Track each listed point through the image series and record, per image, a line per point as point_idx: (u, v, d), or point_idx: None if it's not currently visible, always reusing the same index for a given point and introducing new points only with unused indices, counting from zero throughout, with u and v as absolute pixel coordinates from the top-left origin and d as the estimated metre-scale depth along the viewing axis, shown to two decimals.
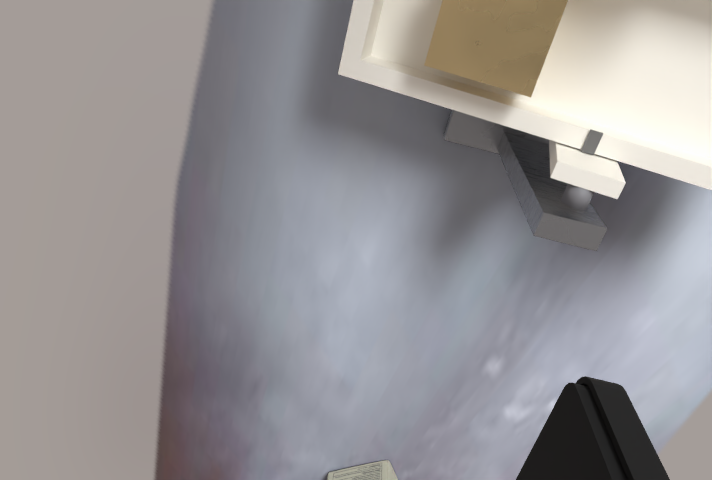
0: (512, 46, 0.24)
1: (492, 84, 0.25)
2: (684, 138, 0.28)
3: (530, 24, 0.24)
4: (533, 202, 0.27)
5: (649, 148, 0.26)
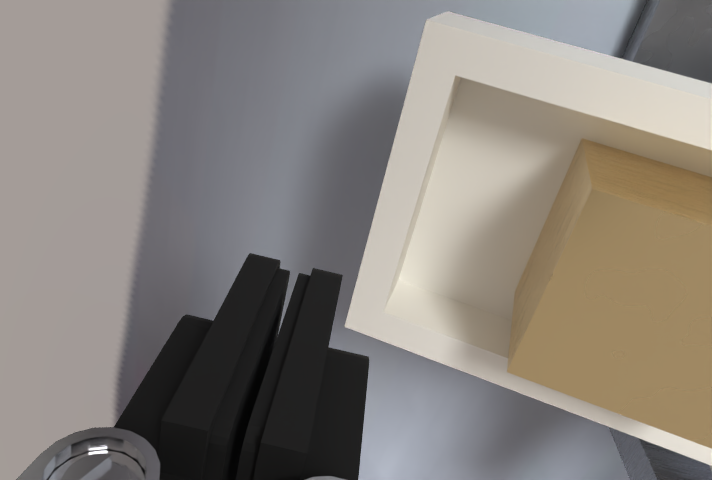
0: (691, 369, 0.12)
1: (641, 420, 0.13)
2: None
3: None
4: None
5: None
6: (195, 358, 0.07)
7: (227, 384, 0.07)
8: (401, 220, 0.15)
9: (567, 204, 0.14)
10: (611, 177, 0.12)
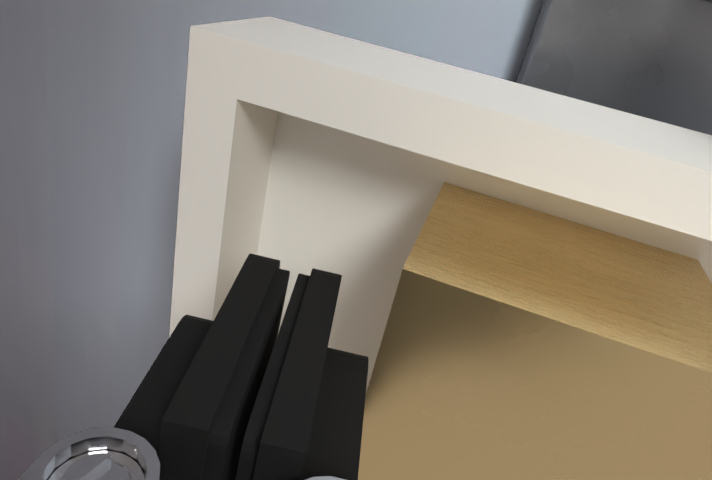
0: None
1: None
2: None
3: (616, 475, 0.08)
4: None
5: None
6: (195, 358, 0.07)
7: (227, 384, 0.07)
8: (205, 283, 0.12)
9: None
10: (449, 243, 0.09)
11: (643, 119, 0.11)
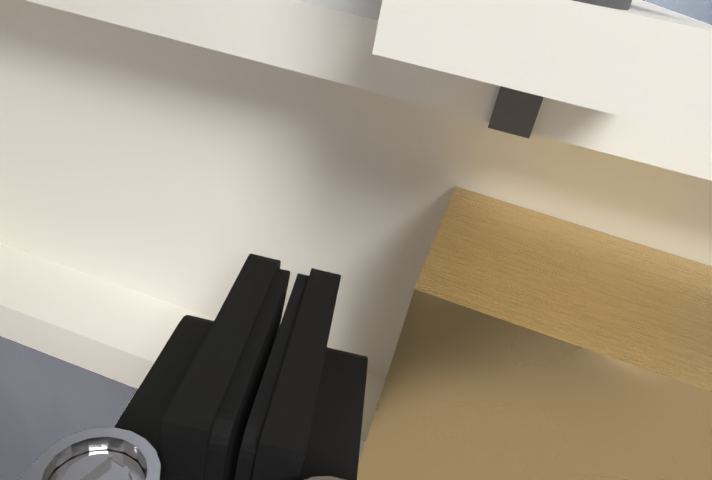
0: None
1: None
2: None
3: None
4: None
5: None
6: (195, 359, 0.07)
7: (227, 385, 0.07)
8: None
9: None
10: (463, 258, 0.08)
11: None
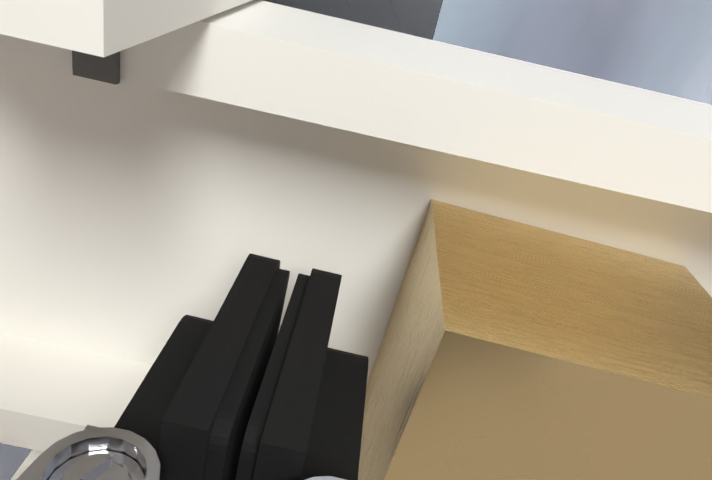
0: None
1: None
2: None
3: None
4: None
5: None
6: (195, 358, 0.07)
7: (228, 385, 0.07)
8: None
9: (415, 314, 0.09)
10: (473, 284, 0.08)
11: None
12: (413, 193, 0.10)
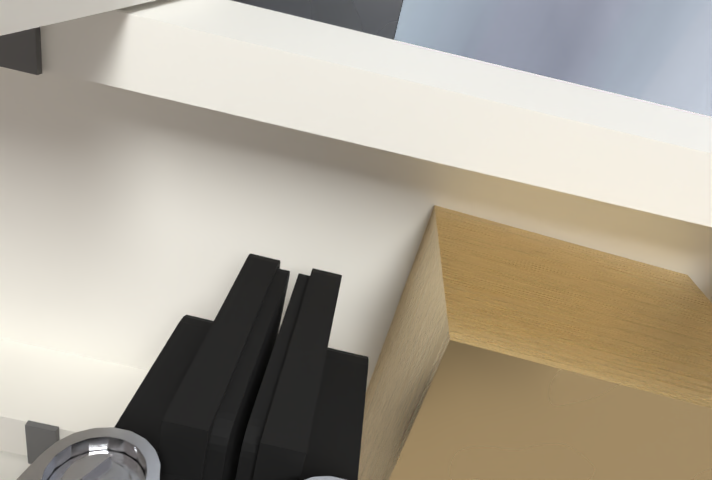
0: None
1: None
2: None
3: None
4: None
5: None
6: (195, 358, 0.07)
7: (227, 385, 0.07)
8: None
9: (418, 321, 0.09)
10: (477, 293, 0.08)
11: None
12: (356, 189, 0.10)
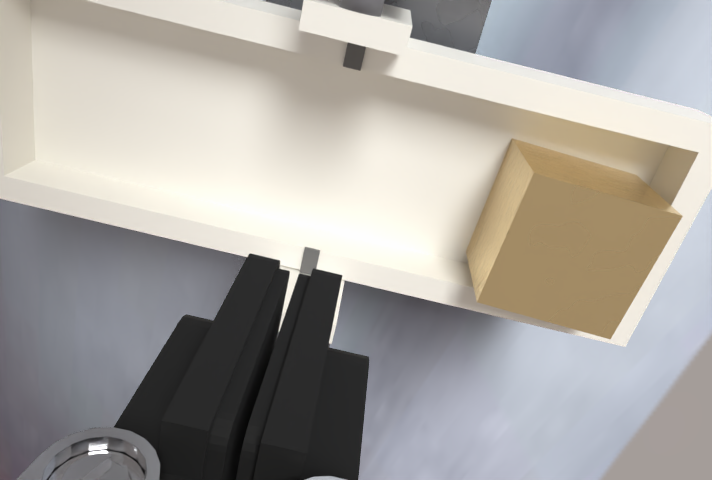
0: (593, 286, 0.19)
1: (564, 325, 0.20)
2: (421, 240, 0.23)
3: (618, 264, 0.19)
4: None
5: (375, 264, 0.22)
6: (195, 358, 0.07)
7: (228, 385, 0.07)
8: None
9: (510, 184, 0.20)
10: (540, 164, 0.19)
11: None
12: (473, 130, 0.21)
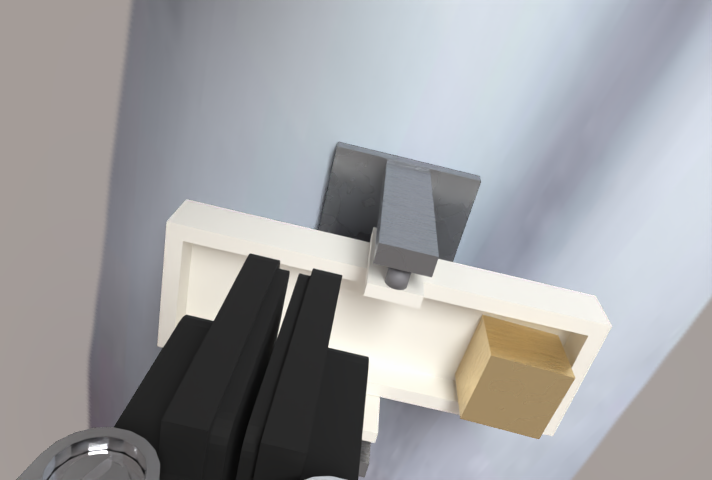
0: (527, 411, 0.33)
1: (511, 431, 0.34)
2: (427, 368, 0.37)
3: (541, 400, 0.33)
4: None
5: (399, 388, 0.36)
6: (195, 358, 0.07)
7: (227, 384, 0.07)
8: (173, 297, 0.34)
9: (480, 349, 0.34)
10: (496, 343, 0.33)
11: (313, 231, 0.34)
12: (459, 309, 0.35)
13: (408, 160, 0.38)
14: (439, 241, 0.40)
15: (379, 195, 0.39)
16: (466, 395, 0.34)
